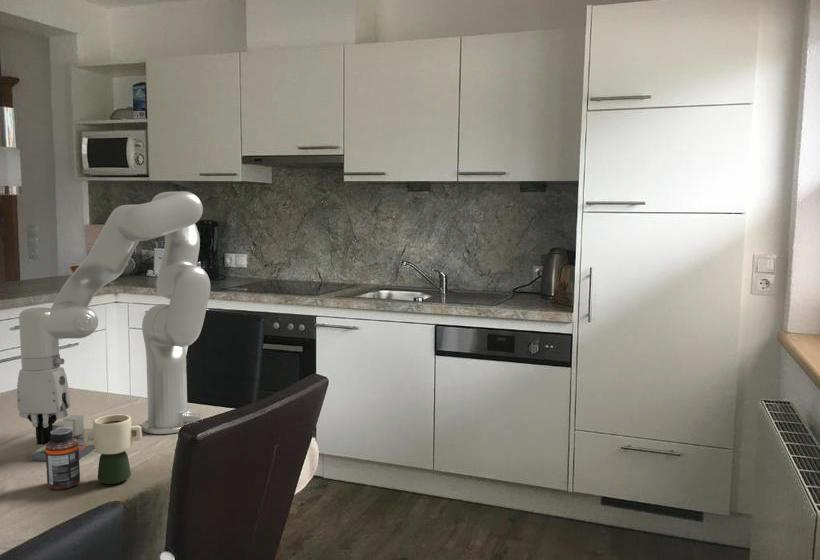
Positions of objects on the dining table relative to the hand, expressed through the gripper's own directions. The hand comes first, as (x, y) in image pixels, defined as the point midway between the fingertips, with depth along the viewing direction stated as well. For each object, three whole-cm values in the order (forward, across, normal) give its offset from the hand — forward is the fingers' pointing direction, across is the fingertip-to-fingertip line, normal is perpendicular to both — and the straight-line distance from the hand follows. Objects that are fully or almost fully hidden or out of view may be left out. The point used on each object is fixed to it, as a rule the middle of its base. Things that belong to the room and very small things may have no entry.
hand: (44, 442), depth 153 cm
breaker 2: (+1, -2, -9) cm, 9 cm away
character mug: (+3, -23, +13) cm, 27 cm away
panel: (+3, -4, -4) cm, 7 cm away
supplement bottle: (+3, -14, +16) cm, 22 cm away
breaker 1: (+1, -2, -4) cm, 5 cm away
